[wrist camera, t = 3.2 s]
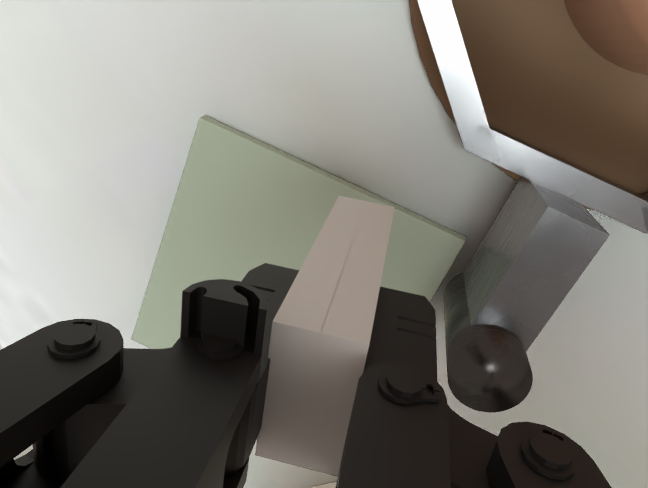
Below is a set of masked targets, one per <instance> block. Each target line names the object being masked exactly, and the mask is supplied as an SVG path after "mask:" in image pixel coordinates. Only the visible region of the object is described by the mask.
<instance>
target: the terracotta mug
mask: <svg viewBox="0 0 648 488" xmlns="http://www.w3.org/2000/svg"><path fill="white" fill-rule="evenodd" d="M564 2H565V6H566V9H567V12H568V14H569V16H570V18H571V21H572V23H573V25H574V27H575V28H576V30H577V31H578V33H579V34H580V35H581V37H582V38H583V40H584V41H585V42H586V43H587V44H588V45H589V46H590V47H591V48H592V49H593V50H594V51H595V52H596V53H598V54H599V55H600V56H602V57H603V58H604V59H605V60H607V61H609V62H611V63H613V64H615V65H616V66H618V67H621V68H623V69H626V70H629V71H631V72H635V73H639V74H644V75H648V0H564Z"/></svg>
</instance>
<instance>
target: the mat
mask: <svg viewBox="0 0 648 488" xmlns="http://www.w3.org/2000/svg"><path fill="white" fill-rule="evenodd" d="M339 196H344V197H348V198H353V199H358V200H363V201H368V202H373V203H378V204H383V205H388V206H393V207H395V208H394V214H393V219H392V225H391V230H390V235H389V241H388V246H387V252H386V257H385V262H384V268H383V273H382V279H381V284H380V287H385V288H390V289H394V290H399V291H403V292H408V293H412V294H417V295H421V296H425V297H426V298H427V300H428V301H429V302H430V301H431V299H432V297H433V296H434V294H435V292H436V291H437V289H438V287H439V286H440V284H441V282H442V280H443V279H444V277H445V275H446V274H447V272H448V270H449V269H450V267H451V265H452V263H453V262H454V260H455V258H456V257H457V255H458V253H459V252H460V250H461V248H462V246H463V245H464V243H465V236H463V235H461V234H459V233H457V232H455V231H452V230H450V229H448V228H446V227H444V226H442V225H440V224H437V223H435V222H433V221H431V220H429V219H427V218H424V217H422V216H420V215H418V214H416V213H414V212H412V211H409V210H407V209H405V208H403V207H401V206H399V205H397V204H394V203H392V202H390V201H388V200H386V199H384V198H381V197H379V196H377V195H375V194H373V193H371V192H369V191H366V190H364V189H362V188H360V187H358V186H356V185H354V184H351V183H349V182H347V181H345V180H343V179H341V178H338V177H336V176H334V175H332V174H330V173H328V172H326V171H323V170H321V169H319V168H317V167H315V166H313V165H310V164H308V163H306V162H304V161H302V160H300V159H298V158H295V157H293V156H291V155H289V154H287V153H285V152H283V151H280V150H278V149H276V148H274V147H272V146H270V145H267V144H265V143H263V142H261V141H259V140H257V139H255V138H252V137H250V136H248V135H246V134H244V133H242V132H240V131H237V130H235V129H233V128H231V127H229V126H227V125H224V124H222V123H220V122H218V121H216V120H214V119H212V118H209V117H207V116H203V117H200V118H199V122H198V125H197V128H196V131H195V135H194V138H193V141H192V144H191V147H190V151H189V154H188V157H187V160H186V164H185V167H184V170H183V173H182V177H181V180H180V183H179V186H178V190H177V193H176V196H175V199H174V202H173V206H172V209H171V212H170V215H169V219H168V222H167V225H166V228H165V232H164V235H163V238H162V241H161V245H160V248H159V251H158V254H157V257H156V261H155V264H154V267H153V270H152V274H151V277H150V280H149V283H148V287H147V290H146V293H145V296H144V299H143V303H142V306H141V309H140V312H139V316H138V319H137V322H136V325H135V329H134V332H133V335H132V338H131V339H132V340H134V341H136V342H138V343H140V344H142V345H144V346H146V347H149V348H151V349H165V348H171V347H173V345H174V344H175V343H176V341H177V340H178V339H179V338H180V332H181V310H182V291H183V290H185V289H186V288H187V287H189V286H190V285H192V284H195V283H198V282H202V281H205V280H215V279H226V280H234V281H240V282H241V281H242V280H243V278H244V277H245V276H246V274H247V273H248V271H250V270H252V269H254V268H256V267H258V266H260V265H262V264H264V263H268V264H273V265H277V266H282V267H286V268H291V269H295V270H300V269H301V267H302V265H303V263H304V261H305V259H306V257H307V255H308V254H309V252H310V250H311V248H312V246H313V244H314V242H315V240H316V238H317V236H318V235H319V233H320V231H321V229H322V227H323V225H324V223H325V221H326V219H327V218H328V216H329V214H330V212H331V210H332V208H333V206H334V204H335V202H336V200H337V199H338V197H339Z"/></svg>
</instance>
